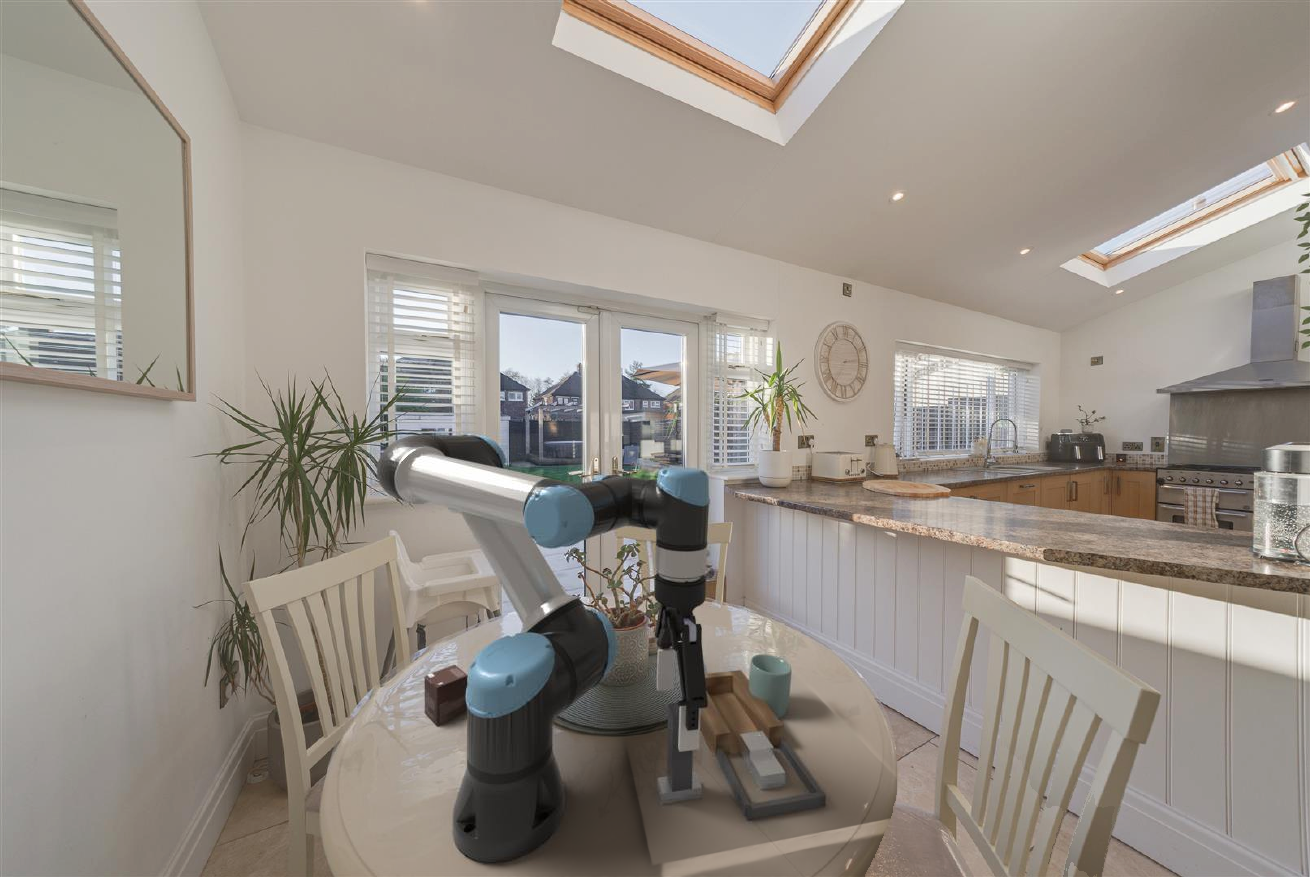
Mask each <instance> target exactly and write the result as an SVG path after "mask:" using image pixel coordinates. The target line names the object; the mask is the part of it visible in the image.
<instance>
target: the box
mask: <svg viewBox="0 0 1310 877" xmlns="http://www.w3.org/2000/svg"><path fill="white" fill-rule="evenodd" d="M423 678H424V714H425V715H426V716H427V717H428V718H429V719H430V720H431V721H432V723H434V725H435V726H440V725H442V724H444V723H447V722H449V721H451V720H453V719H455V718H457V717H459V716H461V715H464V714H465V713H466V714H467V703H466V689H467V685H468V674H467V673H466V672H464V671H463V670H462V669H461V668H460V667H459V666H457V665H456V664H453V665H450V666H447V667H445V668H442V669H440V670H437V671H433V672H431V673H429V674H426V675H425V676H424V677H423Z"/></svg>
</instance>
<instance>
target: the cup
mask: <svg viewBox="0 0 1310 877" xmlns="http://www.w3.org/2000/svg"><path fill="white" fill-rule="evenodd" d="M749 664H750V665H749V675H748V680H749V691H750V692H751V694H752V695H754V696H755V697H757V698H759V699H762V700H764V701H765V702H766V704H767V705H768V706H769V708H770V709H771V710H772V712H773V713H774V714H775V716H776V717H777V718H778V719H781V718H782V717H783V718H784V716H785V715H786V712H787V710H788V706H789V700H790V697H791V696H790V694H791V685H792V684H791V683H792V666H791V665H790V663H789V662H788V661H786V660H785V659H783V658H781V657H779V656H775V655H771V654H755V655H754V656H752V658H751V659H750V663H749Z"/></svg>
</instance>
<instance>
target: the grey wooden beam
mask: <svg viewBox="0 0 1310 877" xmlns="http://www.w3.org/2000/svg"><path fill="white" fill-rule="evenodd" d="M679 709H680V706H678V704H677V702H673V703H668V704H667V749H666V750H667V754H666V756H667V757H666V758H667V760H666V765H667V766H666V776H661V777H657V780H656V781H657V783H656V786H657V788H656V789H657V792H658V796H659V798H660V803H661V805H667V804H671V803H677V802H678V803H679V802H684V801H690V800H696V799H701V798H702V797H703V786H702V783H701V782H700V779H699V776H698V774H697V772H696V771H694V772H693V758H694V757H693V753H694V750H690V751H682V752H680V751H679V749H678V738H679Z"/></svg>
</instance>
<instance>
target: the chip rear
mask: <svg viewBox="0 0 1310 877" xmlns="http://www.w3.org/2000/svg"><path fill="white" fill-rule="evenodd" d="M774 748H775V747H773V746H772V744H771V743H770V742H769V740H768V739H767V737H766V736H765V734H764V733H763V731H759V732H752V733H744V734H740V755H741V756H742V759H743V761H744V762H745V764H746V765H747V767H748V768H749V765H750V757H754V756H760V755H767V754H774Z"/></svg>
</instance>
